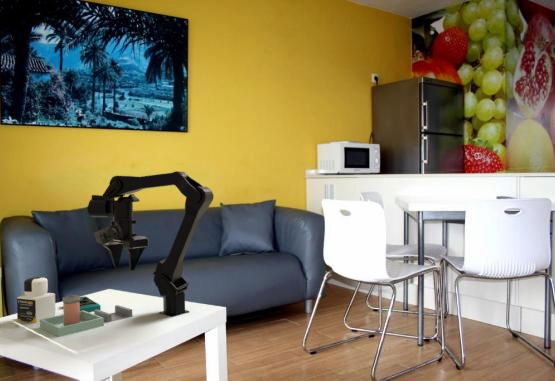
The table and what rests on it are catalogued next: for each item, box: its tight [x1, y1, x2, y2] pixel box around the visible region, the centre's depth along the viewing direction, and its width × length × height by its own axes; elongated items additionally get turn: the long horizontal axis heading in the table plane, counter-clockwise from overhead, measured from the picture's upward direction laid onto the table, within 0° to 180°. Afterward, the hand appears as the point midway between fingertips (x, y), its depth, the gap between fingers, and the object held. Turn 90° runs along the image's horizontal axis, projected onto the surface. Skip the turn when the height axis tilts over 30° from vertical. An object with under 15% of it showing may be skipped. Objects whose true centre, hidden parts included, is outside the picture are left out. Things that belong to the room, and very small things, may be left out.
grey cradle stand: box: [93, 304, 133, 323], centre depth 137 cm, size 8×7×2 cm
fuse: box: [62, 294, 81, 327], centre depth 128 cm, size 4×4×8 cm
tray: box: [39, 310, 105, 338], centre depth 128 cm, size 12×12×2 cm
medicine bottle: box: [16, 276, 57, 324], centre depth 136 cm, size 7×7×12 cm
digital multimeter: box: [80, 296, 102, 313], centre depth 148 cm, size 7×15×3 cm, turn 38°
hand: (124, 268), depth 144 cm, fingers open, 9 cm apart
